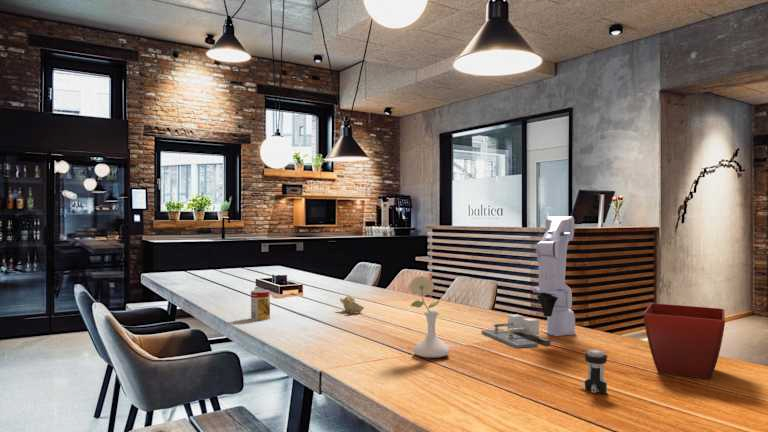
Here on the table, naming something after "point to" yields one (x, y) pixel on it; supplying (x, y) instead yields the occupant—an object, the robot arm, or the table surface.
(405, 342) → the table surface
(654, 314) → the plant pot
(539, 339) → the bar
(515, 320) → the fixed divider leg
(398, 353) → the table surface
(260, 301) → the canned food
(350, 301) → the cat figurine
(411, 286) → the flower in vase
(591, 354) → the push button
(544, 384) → the table surface
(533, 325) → the sliding divider leg
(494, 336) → the bolt hole plate
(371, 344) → the table surface
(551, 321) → the robot arm
